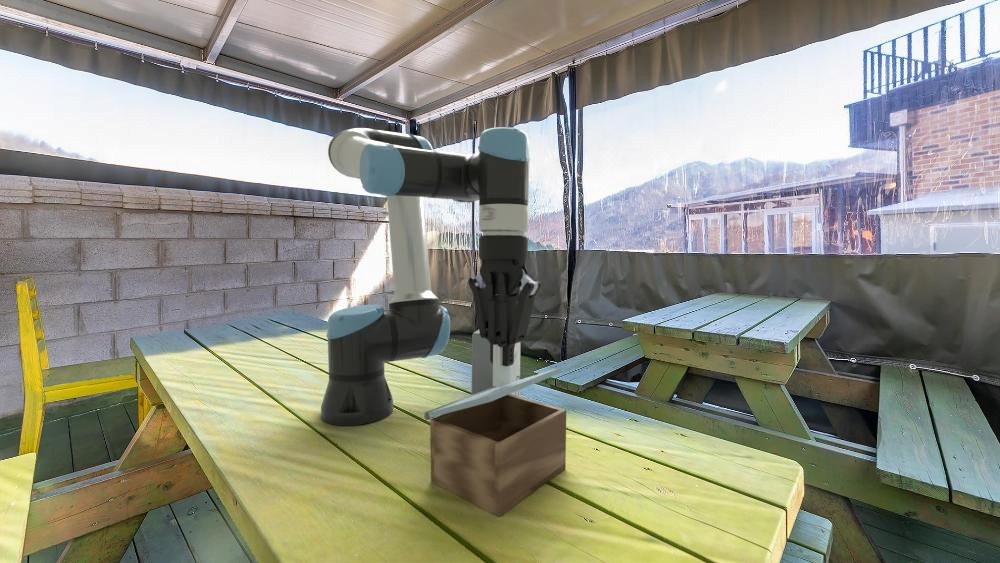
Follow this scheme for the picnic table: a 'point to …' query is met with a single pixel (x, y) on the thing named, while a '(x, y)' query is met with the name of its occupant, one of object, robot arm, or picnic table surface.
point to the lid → (489, 394)
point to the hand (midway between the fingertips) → (501, 384)
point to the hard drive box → (489, 365)
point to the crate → (498, 451)
